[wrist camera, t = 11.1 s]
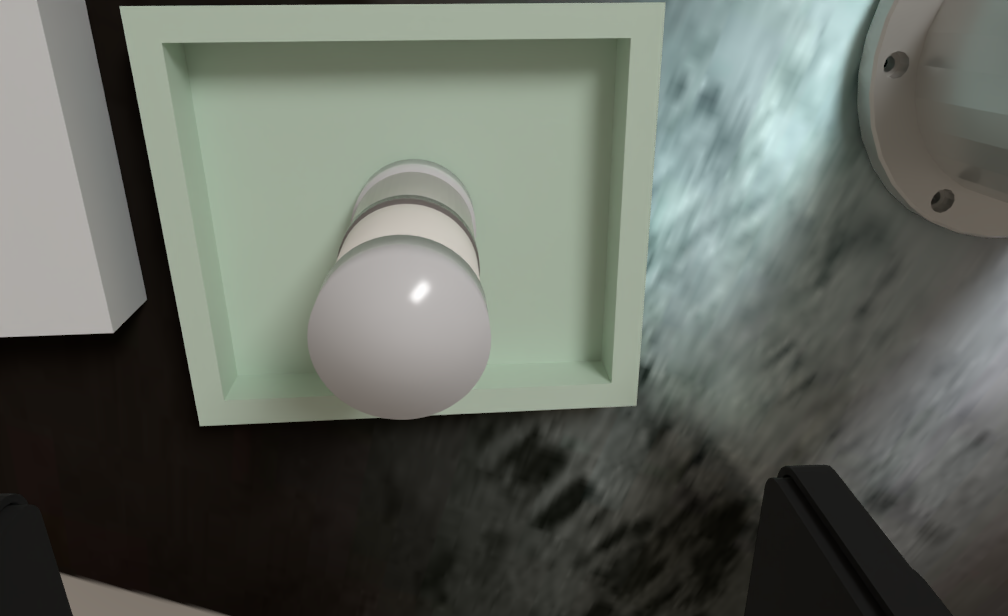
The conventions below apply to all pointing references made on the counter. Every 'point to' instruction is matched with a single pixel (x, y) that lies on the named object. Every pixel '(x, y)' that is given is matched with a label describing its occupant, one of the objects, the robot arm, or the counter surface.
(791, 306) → the counter surface
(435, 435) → the counter surface
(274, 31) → the parts tray
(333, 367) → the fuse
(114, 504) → the counter surface
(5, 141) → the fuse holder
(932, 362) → the counter surface
